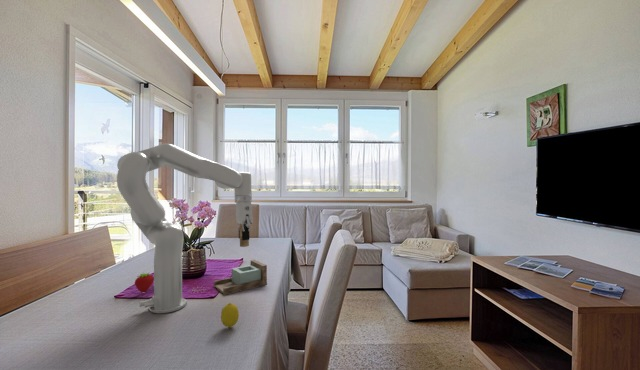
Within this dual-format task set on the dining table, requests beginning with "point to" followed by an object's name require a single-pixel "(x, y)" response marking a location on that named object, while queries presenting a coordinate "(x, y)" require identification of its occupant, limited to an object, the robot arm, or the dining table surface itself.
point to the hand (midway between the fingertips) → (244, 238)
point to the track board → (230, 287)
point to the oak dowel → (242, 242)
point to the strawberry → (144, 282)
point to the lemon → (229, 315)
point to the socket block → (245, 274)
